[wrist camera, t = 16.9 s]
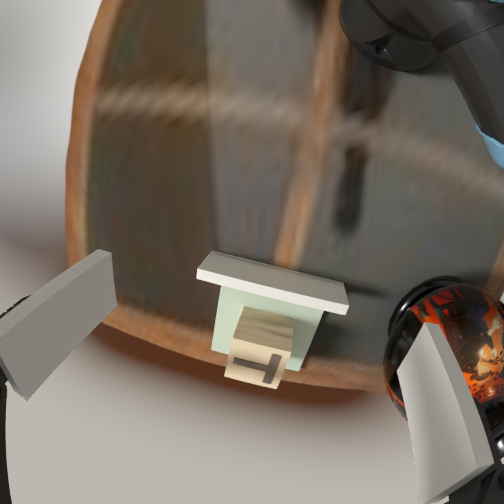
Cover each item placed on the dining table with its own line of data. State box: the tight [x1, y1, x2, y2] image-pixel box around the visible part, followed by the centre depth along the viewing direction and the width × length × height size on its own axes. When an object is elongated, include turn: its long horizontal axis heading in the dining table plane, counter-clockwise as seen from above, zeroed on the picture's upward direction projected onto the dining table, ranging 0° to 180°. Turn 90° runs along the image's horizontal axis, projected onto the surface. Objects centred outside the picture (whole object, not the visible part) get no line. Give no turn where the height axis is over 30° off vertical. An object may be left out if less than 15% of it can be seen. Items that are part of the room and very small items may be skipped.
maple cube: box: [225, 306, 294, 389], centre depth 41 cm, size 8×8×8 cm
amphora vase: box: [382, 277, 504, 459], centre depth 27 cm, size 22×22×28 cm
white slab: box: [197, 250, 349, 315], centre depth 39 cm, size 3×20×6 cm, turn 78°
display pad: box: [211, 285, 324, 371], centre depth 45 cm, size 14×16×1 cm
